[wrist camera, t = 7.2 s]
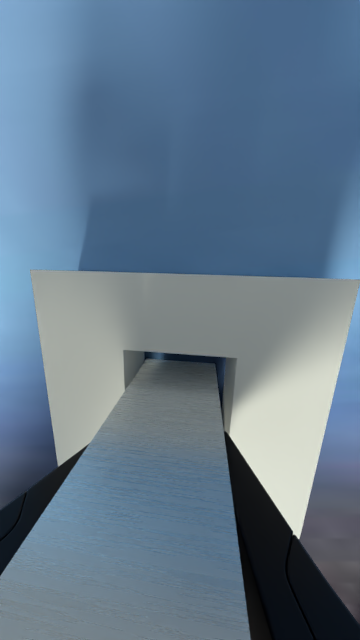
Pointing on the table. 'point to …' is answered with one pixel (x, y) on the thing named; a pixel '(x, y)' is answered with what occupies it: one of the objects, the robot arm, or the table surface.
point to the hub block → (206, 340)
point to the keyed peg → (138, 526)
